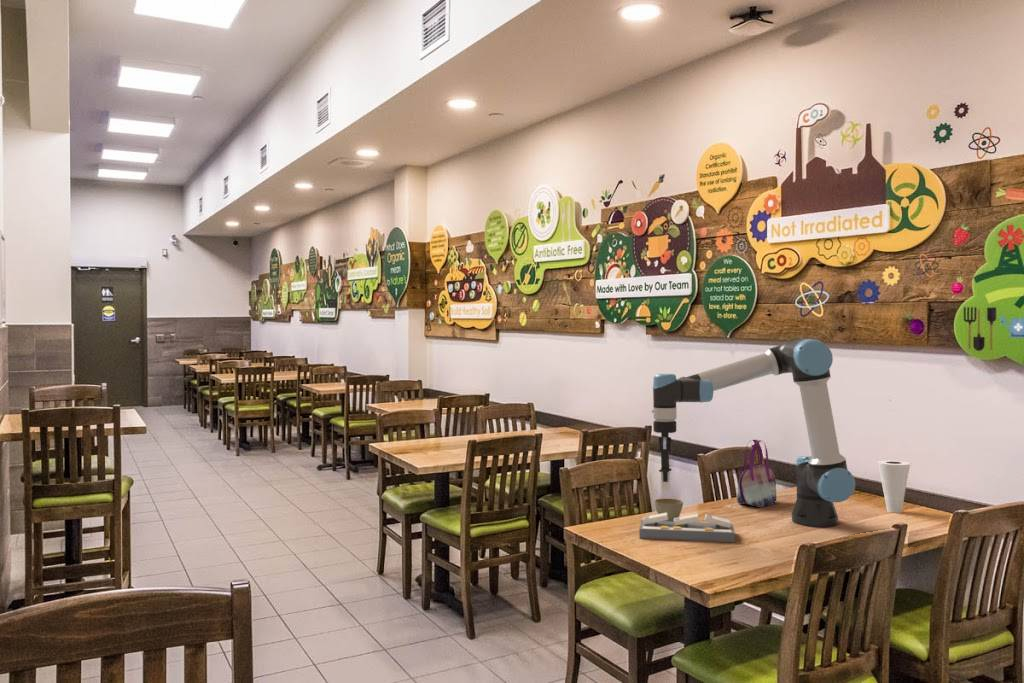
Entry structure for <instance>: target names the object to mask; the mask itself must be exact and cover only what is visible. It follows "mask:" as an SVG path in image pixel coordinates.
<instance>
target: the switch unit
mask: <svg viewBox="0 0 1024 683" xmlns="http://www.w3.org/2000/svg"><path fill="white" fill-rule="evenodd" d="M638 530H639V534H638V535H639V539H648V540H649V539H650V540H669V541H670V540H671V541H691V542H692V541H693V542H694V541H695V542H696V541H697V542H718V543H736V531H735V528H734V525H733V523H731V525H730V528H728V527H724V526H720V525H717V524H713V523H709V522H699V521H698V522H692V523H687V524H681V525H676V526H675V524H674V522H673V521H660V522H655V523H649V524H644V522H643V519H642V520H640V524H639V529H638Z"/></svg>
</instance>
